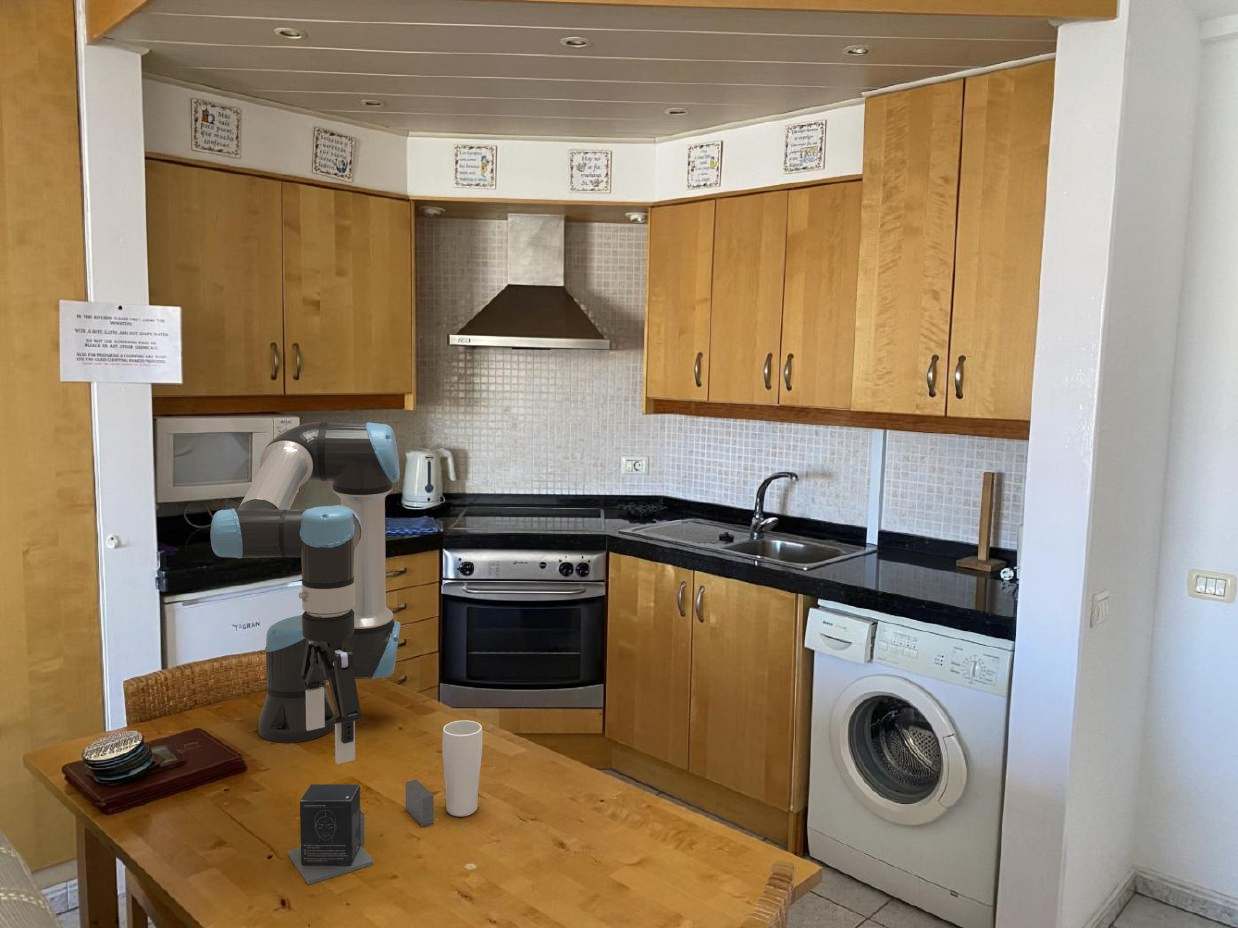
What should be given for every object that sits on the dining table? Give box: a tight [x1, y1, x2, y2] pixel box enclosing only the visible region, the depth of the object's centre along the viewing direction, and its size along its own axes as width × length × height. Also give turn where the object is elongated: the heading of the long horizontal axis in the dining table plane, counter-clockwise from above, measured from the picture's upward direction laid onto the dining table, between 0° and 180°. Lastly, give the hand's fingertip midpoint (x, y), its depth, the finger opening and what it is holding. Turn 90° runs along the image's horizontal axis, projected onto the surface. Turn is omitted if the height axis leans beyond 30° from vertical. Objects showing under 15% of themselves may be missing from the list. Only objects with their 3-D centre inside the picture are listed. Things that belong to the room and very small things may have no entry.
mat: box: [287, 845, 374, 886], centre depth 143 cm, size 10×10×1 cm
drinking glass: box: [441, 719, 483, 817], centre depth 158 cm, size 7×7×15 cm
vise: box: [360, 778, 435, 846], centre depth 151 cm, size 7×19×5 cm, turn 126°
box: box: [299, 783, 362, 865], centre depth 142 cm, size 8×6×11 cm
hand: (329, 744), depth 141 cm, fingers open, 13 cm apart
